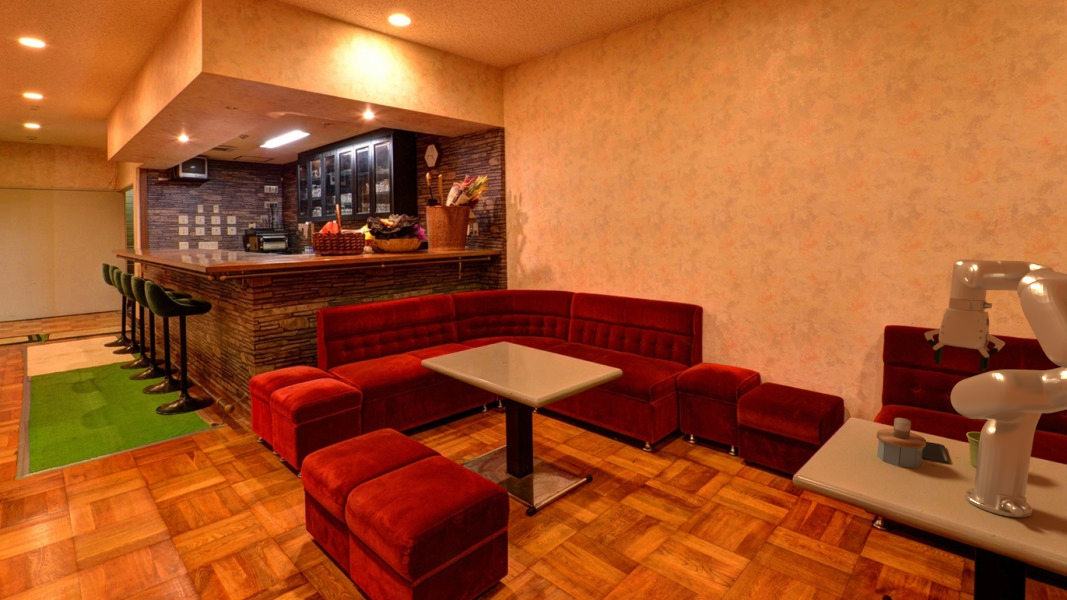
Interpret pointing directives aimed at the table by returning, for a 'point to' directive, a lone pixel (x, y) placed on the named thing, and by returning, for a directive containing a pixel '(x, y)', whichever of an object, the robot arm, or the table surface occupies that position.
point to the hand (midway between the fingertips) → (959, 367)
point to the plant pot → (973, 446)
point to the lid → (901, 435)
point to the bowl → (899, 455)
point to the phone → (935, 453)
